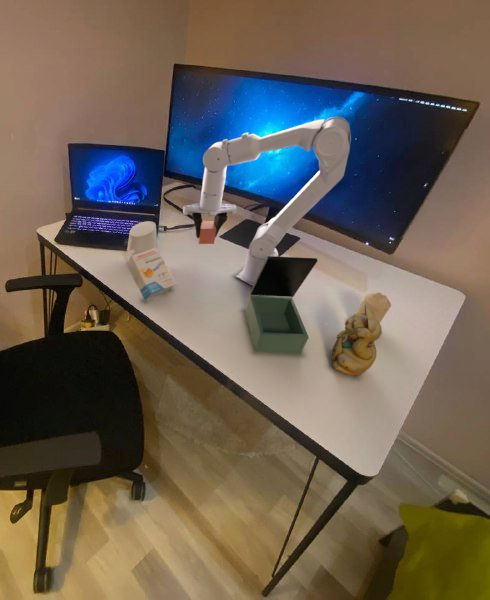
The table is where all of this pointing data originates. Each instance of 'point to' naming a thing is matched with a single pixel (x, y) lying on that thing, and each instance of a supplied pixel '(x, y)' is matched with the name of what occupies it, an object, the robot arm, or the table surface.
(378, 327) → the decorative figurine
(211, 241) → the red block
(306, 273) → the black square lid
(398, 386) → the table surface
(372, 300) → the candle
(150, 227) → the smart speaker
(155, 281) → the ink box
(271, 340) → the green open box
